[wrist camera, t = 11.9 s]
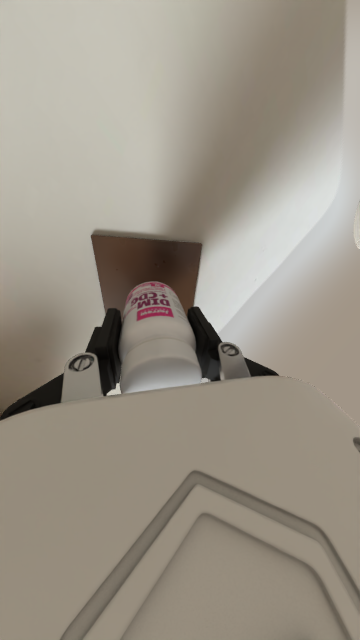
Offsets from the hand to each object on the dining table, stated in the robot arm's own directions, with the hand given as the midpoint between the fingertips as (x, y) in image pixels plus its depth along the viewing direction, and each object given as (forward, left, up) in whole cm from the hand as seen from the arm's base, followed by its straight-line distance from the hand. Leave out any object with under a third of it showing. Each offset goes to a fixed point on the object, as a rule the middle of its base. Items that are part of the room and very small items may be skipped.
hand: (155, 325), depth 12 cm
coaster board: (0, 0, -7) cm, 7 cm away
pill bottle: (0, 0, -4) cm, 4 cm away
